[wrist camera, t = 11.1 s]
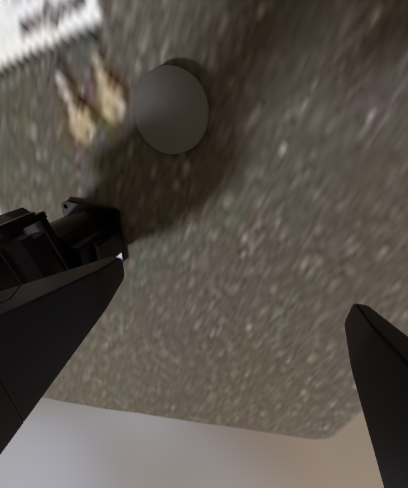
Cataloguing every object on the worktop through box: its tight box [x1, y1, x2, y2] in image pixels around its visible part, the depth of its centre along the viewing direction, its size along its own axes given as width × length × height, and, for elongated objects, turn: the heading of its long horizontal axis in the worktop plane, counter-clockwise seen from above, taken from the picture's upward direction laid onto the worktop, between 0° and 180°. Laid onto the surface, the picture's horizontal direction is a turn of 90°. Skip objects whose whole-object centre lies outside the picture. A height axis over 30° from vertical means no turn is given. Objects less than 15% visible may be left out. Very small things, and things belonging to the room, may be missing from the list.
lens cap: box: [134, 65, 210, 154], centre depth 19 cm, size 6×6×1 cm
